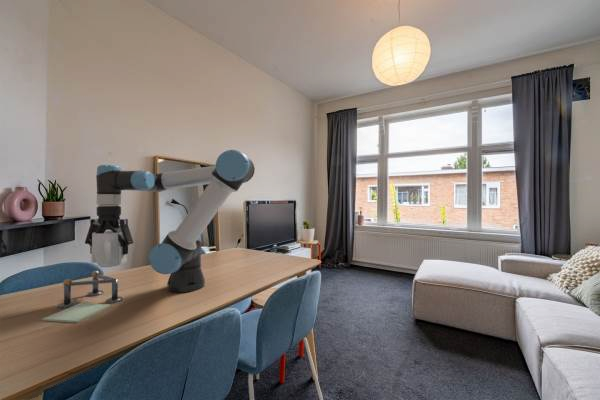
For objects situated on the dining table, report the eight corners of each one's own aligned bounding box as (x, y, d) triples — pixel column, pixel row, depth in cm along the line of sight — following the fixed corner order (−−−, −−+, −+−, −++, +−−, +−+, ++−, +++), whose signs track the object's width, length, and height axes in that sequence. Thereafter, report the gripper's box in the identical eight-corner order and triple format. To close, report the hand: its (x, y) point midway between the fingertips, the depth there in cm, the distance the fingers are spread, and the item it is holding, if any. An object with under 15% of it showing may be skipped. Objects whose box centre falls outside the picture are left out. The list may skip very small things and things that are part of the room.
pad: (110, 306, 89) (110, 304, 89) (77, 322, 77) (77, 320, 77) (80, 304, 90) (80, 303, 90) (42, 320, 78) (42, 318, 78)
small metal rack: (135, 293, 101) (136, 270, 101) (100, 310, 85) (100, 283, 85) (95, 291, 103) (95, 268, 103) (53, 307, 87) (53, 280, 87)
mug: (126, 268, 92) (126, 233, 92) (87, 273, 86) (87, 235, 86) (128, 260, 105) (128, 229, 105) (94, 264, 99) (94, 231, 99)
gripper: (144, 205, 99) (144, 260, 99) (91, 205, 102) (91, 259, 101) (129, 205, 91) (129, 265, 91) (72, 205, 94) (72, 264, 94)
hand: (109, 262), depth 96 cm, fingers closed on mug, 11 cm apart
